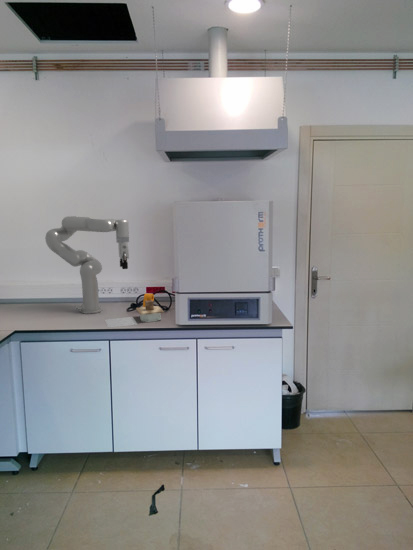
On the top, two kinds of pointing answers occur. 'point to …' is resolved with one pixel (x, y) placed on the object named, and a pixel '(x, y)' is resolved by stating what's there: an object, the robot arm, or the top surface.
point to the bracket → (148, 298)
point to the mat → (120, 322)
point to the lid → (149, 308)
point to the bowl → (150, 317)
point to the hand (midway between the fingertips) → (123, 267)
